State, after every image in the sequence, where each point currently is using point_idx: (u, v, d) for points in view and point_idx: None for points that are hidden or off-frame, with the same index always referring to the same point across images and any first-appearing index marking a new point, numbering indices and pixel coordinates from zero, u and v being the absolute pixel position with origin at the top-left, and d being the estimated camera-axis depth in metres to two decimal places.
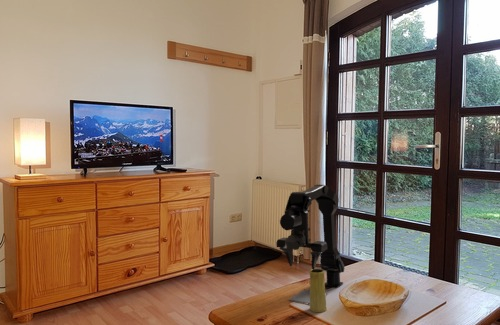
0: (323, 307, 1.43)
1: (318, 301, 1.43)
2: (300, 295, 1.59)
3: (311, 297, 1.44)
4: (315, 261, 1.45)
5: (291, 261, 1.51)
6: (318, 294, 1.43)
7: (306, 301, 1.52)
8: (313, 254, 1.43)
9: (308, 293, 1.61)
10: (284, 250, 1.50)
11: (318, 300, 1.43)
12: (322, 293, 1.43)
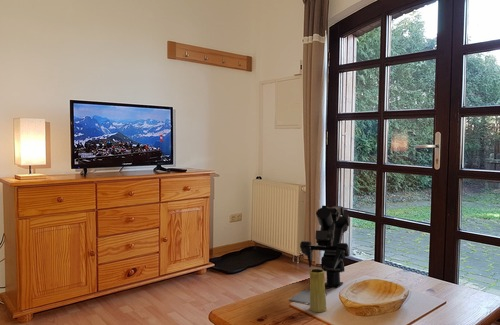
0: (323, 307, 1.43)
1: (318, 301, 1.43)
2: (300, 295, 1.59)
3: (311, 297, 1.44)
4: (337, 261, 1.52)
5: (310, 263, 1.55)
6: (318, 294, 1.43)
7: (306, 301, 1.52)
8: (338, 251, 1.52)
9: (308, 293, 1.61)
10: (307, 249, 1.57)
11: (318, 300, 1.43)
12: (322, 293, 1.43)
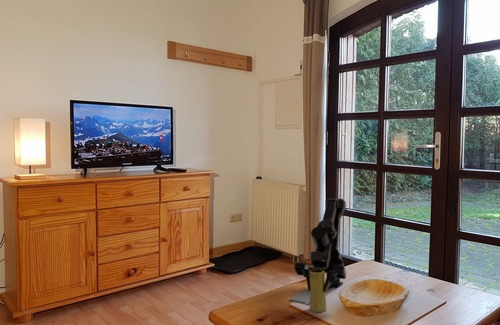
0: (323, 307, 1.43)
1: (318, 301, 1.43)
2: (300, 295, 1.59)
3: (311, 297, 1.44)
4: (328, 284, 1.44)
5: None
6: (318, 294, 1.43)
7: (306, 301, 1.52)
8: (329, 274, 1.45)
9: (308, 293, 1.61)
10: (306, 271, 1.48)
11: (318, 300, 1.43)
12: (322, 293, 1.43)
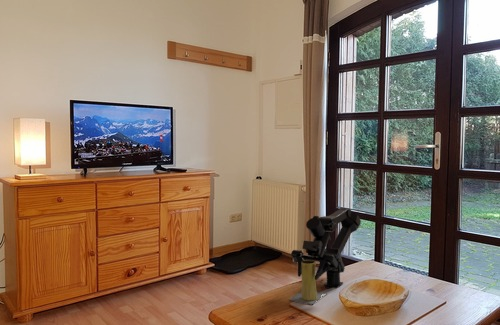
0: (312, 296, 1.53)
1: (307, 290, 1.53)
2: (300, 295, 1.59)
3: (302, 286, 1.55)
4: (320, 272, 1.52)
5: (300, 272, 1.57)
6: (307, 283, 1.53)
7: (306, 301, 1.52)
8: (321, 262, 1.53)
9: None
10: (298, 258, 1.59)
11: (307, 289, 1.53)
12: (311, 283, 1.53)
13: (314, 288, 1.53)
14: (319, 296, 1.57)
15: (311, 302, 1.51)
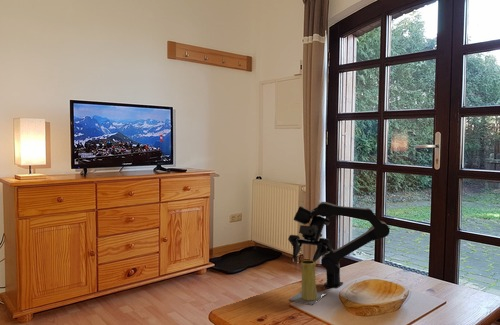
0: (312, 296, 1.53)
1: (307, 290, 1.53)
2: (300, 295, 1.59)
3: (302, 286, 1.55)
4: (317, 255, 1.60)
5: (295, 255, 1.66)
6: (307, 283, 1.53)
7: (306, 301, 1.52)
8: (319, 246, 1.61)
9: None
10: (293, 242, 1.68)
11: (307, 289, 1.53)
12: (311, 283, 1.53)
13: (314, 288, 1.53)
14: (319, 296, 1.57)
15: (311, 302, 1.51)
